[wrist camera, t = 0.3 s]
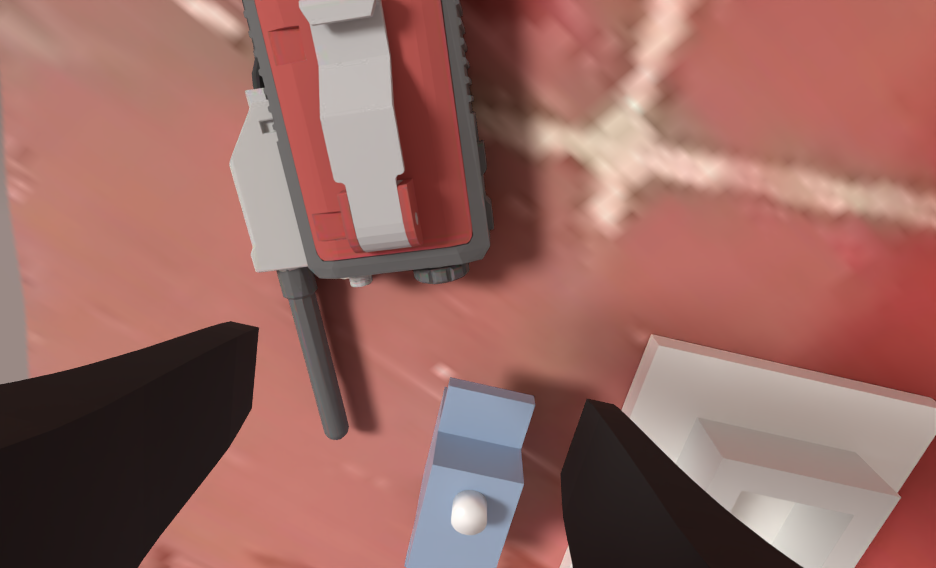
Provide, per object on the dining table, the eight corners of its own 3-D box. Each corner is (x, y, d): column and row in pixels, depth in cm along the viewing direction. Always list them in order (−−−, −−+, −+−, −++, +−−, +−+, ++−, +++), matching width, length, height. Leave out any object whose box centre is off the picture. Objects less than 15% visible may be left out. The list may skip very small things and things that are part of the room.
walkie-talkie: (182, -98, 17) (323, 421, 23) (79, -163, 13) (288, 491, 19) (449, -149, 16) (516, 403, 23) (434, -235, 12) (522, 472, 18)
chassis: (783, 628, 26) (825, 705, 23) (554, 580, 26) (563, 652, 22) (931, 397, 21) (1011, 453, 18) (651, 333, 21) (681, 378, 17)
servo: (480, 523, 25) (477, 644, 19) (414, 509, 24) (392, 628, 19) (529, 362, 22) (542, 452, 16) (454, 345, 21) (442, 430, 16)
